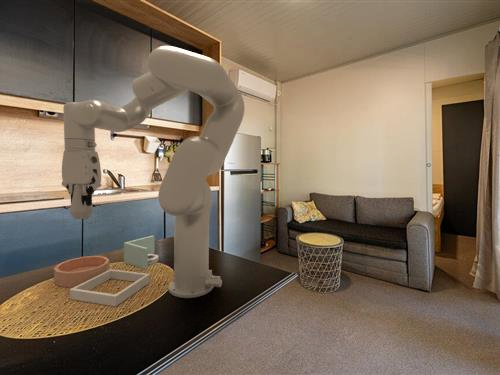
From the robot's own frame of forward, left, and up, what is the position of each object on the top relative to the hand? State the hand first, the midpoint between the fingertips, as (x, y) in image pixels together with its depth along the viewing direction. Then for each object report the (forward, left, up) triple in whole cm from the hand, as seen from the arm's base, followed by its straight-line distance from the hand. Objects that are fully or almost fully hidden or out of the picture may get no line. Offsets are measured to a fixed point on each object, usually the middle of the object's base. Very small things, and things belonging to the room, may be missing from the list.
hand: (81, 207), depth 75 cm
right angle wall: (-11, -17, -22) cm, 30 cm away
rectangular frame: (-15, +5, -21) cm, 27 cm away
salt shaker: (0, 0, -3) cm, 3 cm away
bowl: (0, 0, -21) cm, 21 cm away
